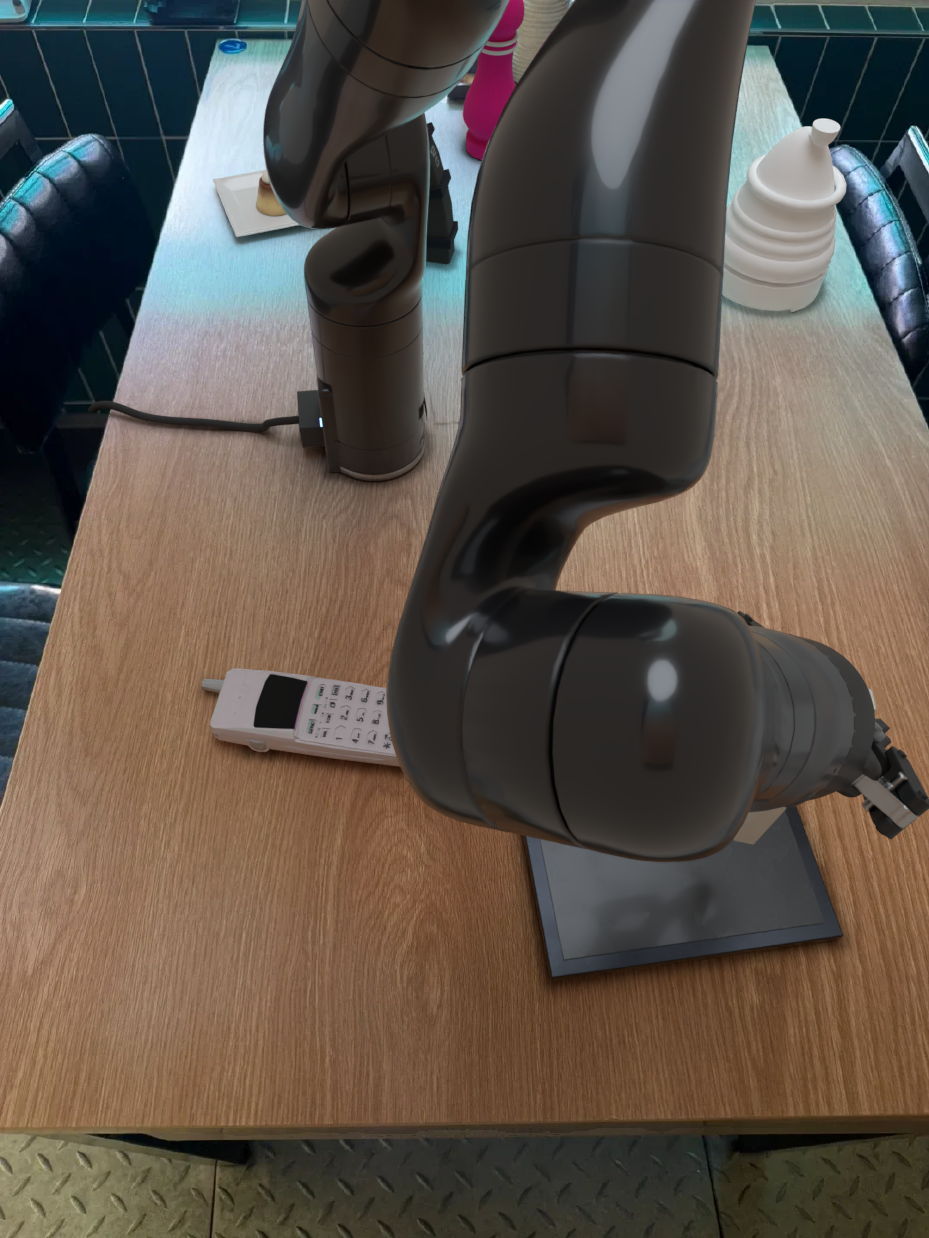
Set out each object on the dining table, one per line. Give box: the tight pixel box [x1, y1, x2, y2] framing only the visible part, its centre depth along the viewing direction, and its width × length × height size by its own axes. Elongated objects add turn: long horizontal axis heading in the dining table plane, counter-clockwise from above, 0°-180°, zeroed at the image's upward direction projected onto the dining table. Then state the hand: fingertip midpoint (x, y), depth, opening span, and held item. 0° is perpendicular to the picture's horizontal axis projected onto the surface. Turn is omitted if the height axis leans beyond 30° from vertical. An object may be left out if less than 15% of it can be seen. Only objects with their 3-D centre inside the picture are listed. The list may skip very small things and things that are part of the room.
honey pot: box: [722, 118, 848, 313], centre depth 98 cm, size 13×13×18 cm
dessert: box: [212, 169, 300, 238], centre depth 109 cm, size 12×12×5 cm
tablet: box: [522, 806, 844, 982], centre depth 67 cm, size 20×14×1 cm
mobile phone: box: [201, 667, 400, 767], centre depth 70 cm, size 6×6×25 cm
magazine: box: [426, 121, 459, 265], centre depth 102 cm, size 4×13×15 cm, turn 77°
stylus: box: [733, 688, 877, 845], centre depth 55 cm, size 1×1×15 cm
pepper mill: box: [462, 0, 525, 161], centre depth 111 cm, size 7×7×20 cm
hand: (854, 719), depth 54 cm, fingers closed on stylus
